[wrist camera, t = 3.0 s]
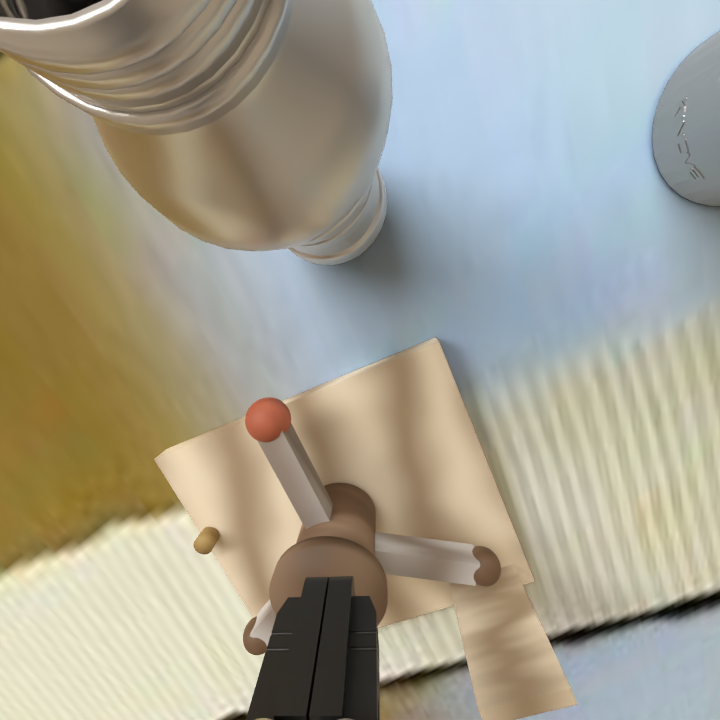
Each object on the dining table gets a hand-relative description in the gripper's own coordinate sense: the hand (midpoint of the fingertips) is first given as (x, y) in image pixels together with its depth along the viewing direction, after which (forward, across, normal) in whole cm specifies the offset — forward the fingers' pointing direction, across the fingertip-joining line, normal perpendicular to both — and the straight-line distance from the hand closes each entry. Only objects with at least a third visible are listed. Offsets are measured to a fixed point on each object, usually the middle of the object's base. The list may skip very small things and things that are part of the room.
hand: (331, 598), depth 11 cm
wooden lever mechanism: (+15, +1, +8) cm, 17 cm away
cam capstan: (+13, +2, +4) cm, 14 cm away
